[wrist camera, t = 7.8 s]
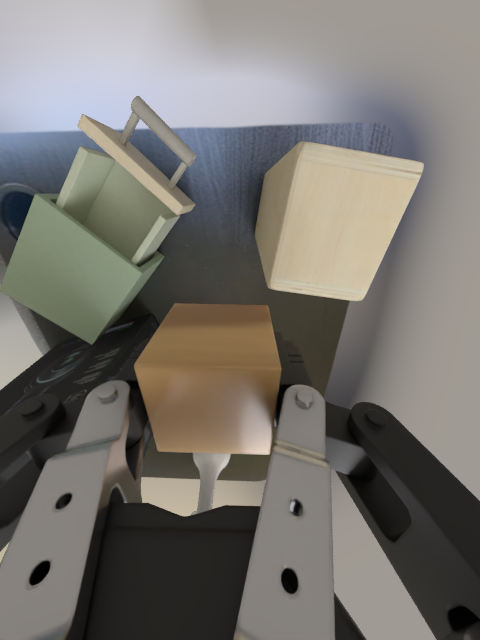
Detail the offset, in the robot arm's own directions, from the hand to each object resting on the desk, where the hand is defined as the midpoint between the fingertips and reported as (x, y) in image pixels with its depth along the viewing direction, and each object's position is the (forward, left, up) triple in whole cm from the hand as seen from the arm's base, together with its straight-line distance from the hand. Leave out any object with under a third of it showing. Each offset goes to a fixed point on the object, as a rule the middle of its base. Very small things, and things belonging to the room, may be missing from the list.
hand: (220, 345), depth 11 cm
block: (0, 0, 0) cm, 0 cm away
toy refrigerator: (-8, +2, -26) cm, 27 cm away
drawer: (+4, -13, -25) cm, 28 cm away
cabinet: (+16, -14, -25) cm, 33 cm away
